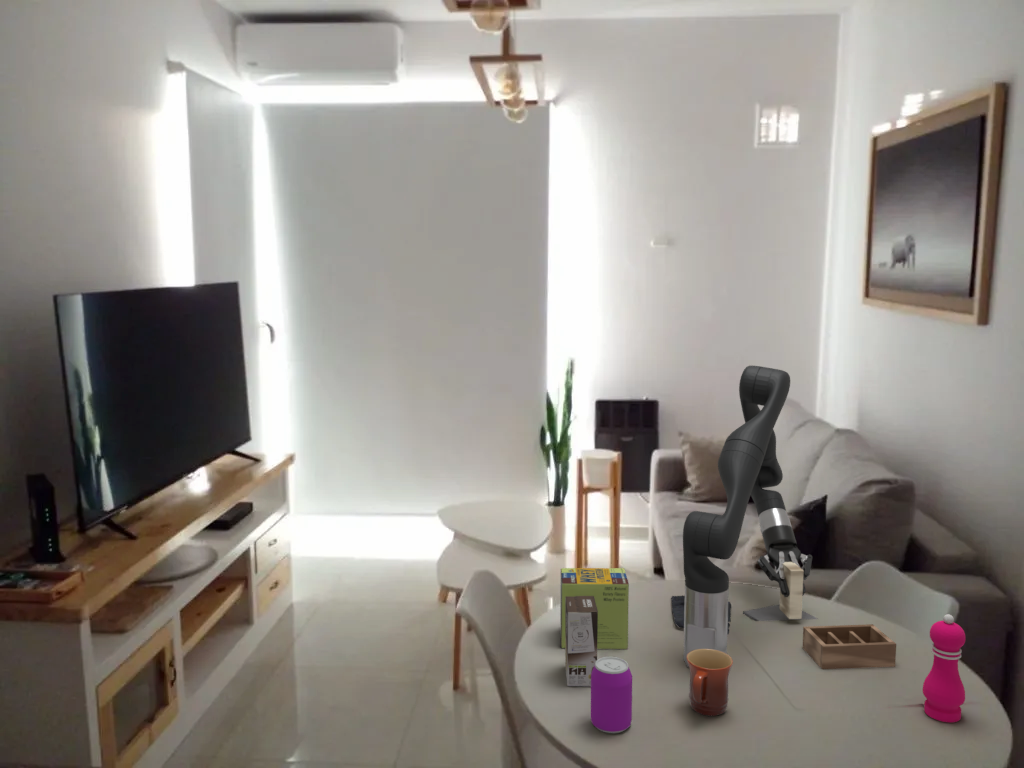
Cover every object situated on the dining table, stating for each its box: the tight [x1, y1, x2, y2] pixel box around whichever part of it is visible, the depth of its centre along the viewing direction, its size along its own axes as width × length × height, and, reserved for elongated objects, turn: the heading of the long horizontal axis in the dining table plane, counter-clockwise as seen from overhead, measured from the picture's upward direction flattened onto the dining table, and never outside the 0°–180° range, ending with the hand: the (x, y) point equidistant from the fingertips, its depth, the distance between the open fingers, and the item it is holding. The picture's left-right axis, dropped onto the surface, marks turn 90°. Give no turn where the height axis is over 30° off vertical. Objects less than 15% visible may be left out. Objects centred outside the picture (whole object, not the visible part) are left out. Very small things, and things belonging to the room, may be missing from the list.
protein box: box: [559, 567, 630, 650], centre depth 188 cm, size 10×15×16 cm
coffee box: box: [564, 596, 598, 687], centre depth 170 cm, size 9×6×16 cm
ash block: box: [779, 562, 804, 619], centre depth 196 cm, size 6×3×12 cm, turn 4°
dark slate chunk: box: [670, 595, 732, 636], centre depth 202 cm, size 15×22×5 cm
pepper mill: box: [922, 613, 967, 724], centre depth 154 cm, size 7×7×20 cm
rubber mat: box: [742, 603, 819, 622], centre depth 197 cm, size 18×14×1 cm
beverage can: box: [590, 656, 633, 734], centre depth 152 cm, size 8×8×12 cm
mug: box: [686, 649, 734, 717], centre depth 156 cm, size 12×9×10 cm
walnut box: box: [801, 623, 897, 670], centre depth 177 cm, size 10×16×6 cm, turn 94°
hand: (794, 595), depth 194 cm, fingers closed on ash block, 3 cm apart
